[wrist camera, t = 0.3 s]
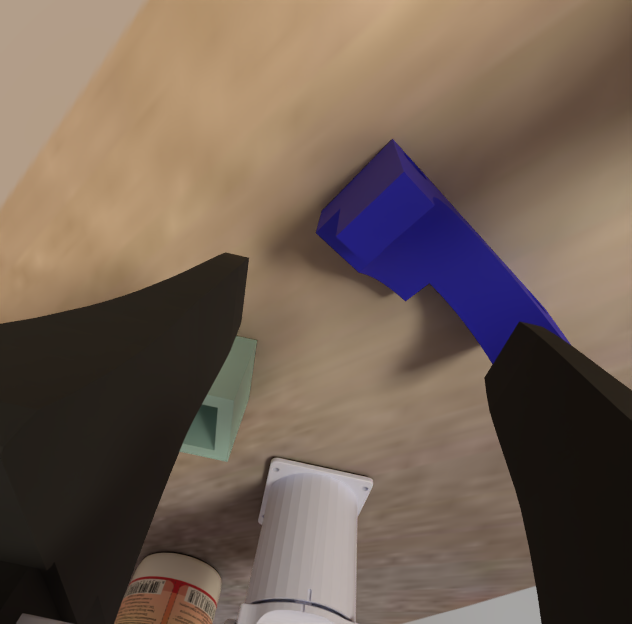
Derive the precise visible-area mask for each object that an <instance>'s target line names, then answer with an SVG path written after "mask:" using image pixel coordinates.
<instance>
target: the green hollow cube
mask: <svg viewBox="0 0 632 624" xmlns="http://www.w3.org/2000/svg"><path fill="white" fill-rule="evenodd" d="M256 345H257V340H253V339H249V338H244V337H240V336H236V338H235V340H234V343H233V346H232V348H231V351H230V353H229V355H228V357H227V359H226V361H225V363H224V364H223V366H222V368H221V370H220V372H219V374H218V376H217V377H216V379H215V381H214V383H213V385H212V387H211V389H210V390H209V392H208V394H207V396H206V398H205V400H204V401H203V403H202V405H201V407H200V409H199V411H198V412H197V414H196V416H195V418H194V420H193V422H192V424H191V426H190V428H189V430H188V432H187V434H186V437H185V439H184V442H183V444H182V447H181V449H180V452H184V453H189V454H194V455H198V456H203V457H207V458H212V459H217V460H221V461H226V462H227V461H228V458H229V456H230V453H231V450H232V447H233V444H234V441H235V438H236V435H237V432H238V429H239V426H240V423H241V420H242V417H243V414H244V412H245V409H246V406H247V403H248V400H249V394H250V387H251V380H252V373H253V366H254V359H255V352H256Z"/></svg>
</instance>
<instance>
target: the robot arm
mask: <svg viewBox="0 0 632 624" xmlns="http://www.w3.org/2000/svg"><path fill="white" fill-rule="evenodd" d="M248 262H249V258H247V257H243V256H238V255H234V254H230V253H223V254H221V255H218V256H216V257H214V258H212V259H210V260H208V261H206V262H204V263H202V264H200V265H198V266H195V267H193V268H191V269H189V270H187V271H185V272H182V273H180V274H178V275H176V276H174V277H171V278H169V279H166V280H164V281H162V282H159V283H157V284H154V285H152V286H149V287H147V288H144V289H142V290H139V291H136V292H133V293H131V294H128V295H125V296H122V297H119V298H115V299H112V300H108V301H105V302H102V303H98V304H95V305H91V306H87V307H83V308H78V309H74V310H69V311H65V312H60V313H56V314H51V315H47V316H42V317H38V318H32V319H27V320H21V321H15V322H9V323H3V324H0V624H114V623H115V620H116V617H117V614H118V611H119V609H120V606H121V603H122V600H123V597H124V595H125V592H126V589H127V586H128V584H129V581H130V578H131V575H132V573H133V570H134V567H135V564H136V561H137V559H138V556H139V554H140V551H141V548H142V546H143V543H144V540H145V538H146V535H147V532H148V530H149V527H150V524H151V522H152V519H153V517H154V514H155V511H156V509H157V506H158V504H159V501H160V499H161V496H162V494H163V491H164V489H165V486H166V483H167V481H168V478H169V476H170V473H171V471H172V468H173V466H174V464H175V461H176V459H177V456H178V454H179V451H180V449H181V447H182V444H183V442H184V439H185V437H186V434H187V432H188V430H189V428H190V426H191V424H192V422H193V420H194V418H195V416H196V414H197V412H198V411H199V409H200V407H201V405H202V403H203V401H204V400H205V398H206V396H207V394H208V392H209V390H210V389H211V387H212V385H213V383H214V381H215V379H216V377H217V376H218V374H219V372H220V370H221V368H222V366H223V364H224V363H225V361H226V359H227V357H228V355H229V353H230V351H231V348H232V346H233V343H234V340H235V338H236V335H237V332H238V330H239V327H240V324H241V320H242V312H243V304H244V295H245V287H246V278H247V270H248ZM485 385H486V393H487V399H488V405H489V410H490V414H491V417H492V420H493V424H494V427H495V430H496V433H497V436H498V439H499V442H500V445H501V448H502V451H503V454H504V457H505V460H506V463H507V466H508V469H509V472H510V475H511V478H512V481H513V484H514V487H515V490H516V494H517V497H518V501H519V504H520V508H521V512H522V517H523V521H524V526H525V531H526V535H527V540H528V545H529V549H530V555H531V561H532V566H533V572H534V577H535V583H536V588H537V594H538V601H539V608H540V616H541V623H542V624H632V390H631V389H629V388H628V387H626V386H625V385H624V384H622V383H621V382H620V381H618V380H617V379H616V378H614V377H613V376H611V375H610V374H609V373H607V372H606V371H605V370H603V369H602V368H601V367H599V366H598V365H597V364H595V363H594V362H593V361H591V360H590V359H589V358H587V357H586V356H585V355H583V354H582V353H581V352H579V351H578V350H577V349H575V348H574V347H573V346H571V345H570V344H568V343H567V342H566V341H564V340H563V339H561V338H560V337H558V336H557V335H555V334H554V333H552V332H551V331H549V330H547V329H545V328H544V327H542V326H537V325H533V324H529V323H525V322H520V321H519V322H518V324H517V326H516V327H515V329H514V331H513V332H512V334H511V335H510V337H509V339H508V340H507V342H506V344H505V345H504V347H503V348H502V350H501V352H500V353H499V355H498V357H497V358H496V360H495V361H494V363H493V365H492V366H491V368H490V370H489V371H488V373H487V375H486V376H485ZM372 487H373V480H372V479H371V478H369V477H365V476H360V475H356V474H351V473H346V472H342V471H337V470H333V469H328V468H323V467H319V466H314V465H310V464H305V463H300V462H296V461H291V460H287V459H282V458H273V459H272V460H271V464H270V468H269V473H268V477H267V482H266V487H265V491H264V496H263V500H262V505H261V510H260V514H259V519H258V522H259V524H261V525H262V528H261V532H260V537H259V541H258V546H257V550H256V555H255V560H254V564H253V569H252V573H251V578H250V582H249V587H248V591H247V596H246V600H245V603H242V604H241V606H240V610H239V614H238V619H237V623H236V620H234V619H227V620H226V621H225V622H224V624H360V623H356V569H357V517H358V515H359V513H360V511H361V509H362V507H363V505H364V503H365V501H366V499H367V497H368V495H369V493H370V491H371V489H372Z"/></svg>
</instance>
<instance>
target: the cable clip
mask: <svg viewBox="0 0 632 624" xmlns="http://www.w3.org/2000/svg"><path fill="white" fill-rule="evenodd" d="M316 234H317V235H319V236H320V237H321V238H322V239H323V240H324V241H325V242H326V243H327V244H328V245H329V246H331V247H332V248H333V249H334V250H335V251H336V252H337V253H338V254H339V255H340V256H341V257H343V258H344V259H345V260H346V261H347V262H348V263H349V264H350V265H351V266H352V267H353V268H354V269H356V270H357V271H358V272H359V273H363V274H366V275H368V276H371V277H373V278H375V279H377V280H378V281H380V282H382V283H383V284H385V285H386V286H387V287H389V288H390V289H392V290H393V291H394V292H395V293H397V294H398V295H399V296H400V297H401V298H402V299H403V300H405V301H407V300H408V299H409V298H411V297H412V296H413V295H415V294H416V293H417V292H419V291H420V290H421V289H423V288H424V287H425V286H427V285H428V284H429V283H430V284H431V285H432V286H433V287H434V288H435V289H436V290H437V292H438V293H439V294H440V295H441V296H442V297H443V298H444V299H445V300H446V301H447V303H448V304H449V305H450V306H451V307H452V308H453V310H454V311H455V312H456V313H457V314H458V316H459V317H460V318H461V319H462V321H463V322H464V323H465V325H466V326H467V327H468V329H469V330H470V331H471V333H472V334H473V335H474V337H475V338H476V340H477V341H478V343H479V344H480V345H481V347H482V348H483V350H484V351H485V353H486V355H487V356H488V358H489V359H490V361H491V363H492V364H493V363H494V361H495V360H496V358H497V357H498V355H499V353H500V352H501V350H502V348H503V347H504V345H505V344H506V342H507V340H508V339H509V337H510V335H511V334H512V332H513V331H514V329H515V327H516V326H517V324H518V322H519V321H520V322H525V323H529V324H533V325H537V326H542V327H544V328H545V329H547V330H549V331H551V332H552V333H554V334H555V335H557V336H558V337H560V338H561V339H563V340H564V341H566V342H567V343H568V344H570V343H569V341H568V340H567V339H566V337H565V336H564V334H563V333H562V332H561V330H560V329H559V327H558V326H557V325H556V323H555V322H554V321H553V319H552V318H551V316H550V315H549V314H548V312H547V311H546V309H545V308H544V307H543V306H542V305H541V304H540V302H539V301H538V300H537V299H536V298H535V297H534V296H533V295H532V294H531V292H530V291H529V290H528V289H527V288H526V287H525V286H524V285H523V284H522V282H521V281H520V280H519V279H518V278H517V277H516V276H515V275H514V274H513V272H512V271H511V270H510V269H509V268H508V267H507V266H506V265H505V263H504V262H503V261H502V260H501V259H500V258H499V257H498V256H497V255H496V253H495V252H494V251H493V250H492V249H491V248H490V247H489V246H488V245H487V243H486V242H485V241H484V240H483V239H482V238H481V237H480V236H479V235H478V233H477V232H476V231H475V230H474V229H473V228H472V227H471V226H470V225H469V223H468V222H467V221H466V220H465V219H464V218H463V217H462V216H461V214H460V213H459V212H458V211H457V210H456V209H455V208H454V207H453V206H452V204H451V203H450V202H449V201H448V200H447V199H446V198H445V197H444V196H443V194H442V193H441V192H440V191H439V190H438V189H437V188H436V187H435V186H434V184H433V183H432V182H431V181H430V180H429V179H428V178H427V177H426V175H425V174H424V173H423V172H422V171H421V170H420V169H419V168H418V167H417V165H416V164H415V163H414V162H413V161H412V160H411V159H410V158H409V157H408V155H407V154H406V153H405V152H404V151H403V150H402V149H401V148H400V147H399V145H398V144H397V143H396V142H395V141H394V140H393V139H392V140H391V141H390V142H389V143H388V144H387V145H386V146H385V147H384V148H383V149H382V150H381V151H380V152H379V153H378V154H377V155H376V156H375V157H374V158H373V159H372V160H371V161H370V162H369V163H368V164H367V165H366V166H365V167H364V168H363V169H362V170H361V171H360V172H359V173H358V174H357V175H356V176H355V178H354V179H353V180H352V181H351V182H350V183H349V184H348V185H347V186H346V187H345V188H344V189H343V190H342V191H341V192H340V193H339V194H338V195H337V196H336V197H335V198H334V199H333V200H332V201H331V202H330V203H329V204H328V205H327V206H326V207H325V208H324V209H323V210H322V212H321V215H320V219H319V223H318V226H317V230H316ZM570 345H571V344H570Z"/></svg>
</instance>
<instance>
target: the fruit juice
mask: <svg viewBox="0 0 632 624" xmlns="http://www.w3.org/2000/svg"><path fill="white" fill-rule="evenodd" d="M220 592H221V577H220V575H219V574H218V572H217V571H216V570H215V569H214V568H212V567H211V566H210V565H208V564H206V563H205V562H203V561H200V560H198V559H196V558H193V557H190V556H186V555H182V554H176V553H155V554H152V555H149V556H147V557H145V558H144V559H143V560H142V561H141V563H140V564H139V566H138V568H137V569H136V571H135V573H134V575H133V578H132V580H131V582H130V584H129V587H128V589H127V591H126V593H125V596H124V598H123V600H122V603H121V606H120V609H119V611H118V614H117V617H116V620H115V623H114V624H212V622H213V619H214V615H215V611H216V608H217V604H218V600H219V596H220Z"/></svg>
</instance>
